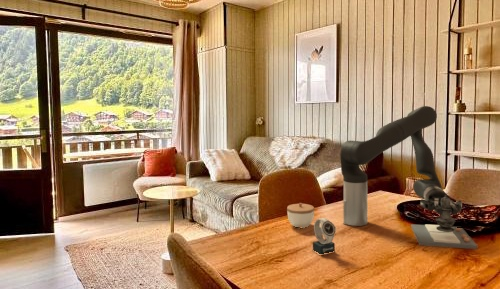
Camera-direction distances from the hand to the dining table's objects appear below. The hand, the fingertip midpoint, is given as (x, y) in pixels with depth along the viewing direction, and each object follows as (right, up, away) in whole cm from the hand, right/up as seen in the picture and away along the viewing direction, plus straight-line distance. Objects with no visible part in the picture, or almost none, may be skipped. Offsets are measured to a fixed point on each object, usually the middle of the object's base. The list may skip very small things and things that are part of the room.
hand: (447, 211), depth 117 cm
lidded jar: (-45, -11, +25) cm, 52 cm away
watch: (-41, -13, -1) cm, 43 cm away
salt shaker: (+1, -7, +3) cm, 8 cm away
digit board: (+2, -10, +8) cm, 13 cm away
